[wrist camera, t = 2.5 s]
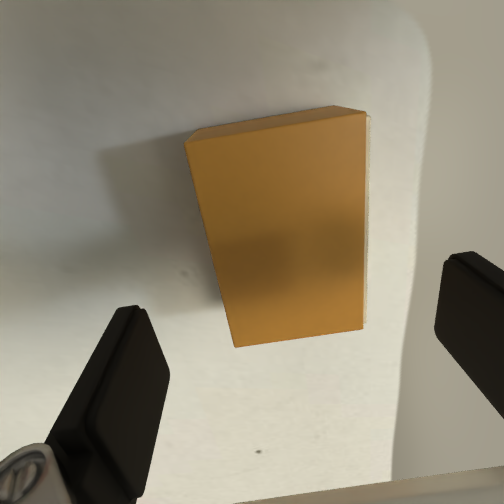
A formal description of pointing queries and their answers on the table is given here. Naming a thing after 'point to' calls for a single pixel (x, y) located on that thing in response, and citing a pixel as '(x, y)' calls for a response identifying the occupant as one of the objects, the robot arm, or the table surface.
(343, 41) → the table surface
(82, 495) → the robot arm
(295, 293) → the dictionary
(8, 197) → the table surface
